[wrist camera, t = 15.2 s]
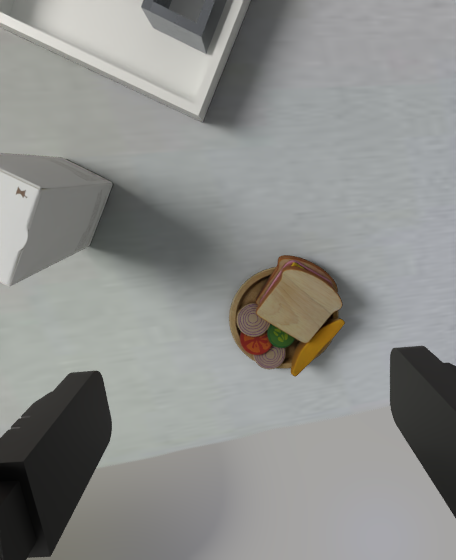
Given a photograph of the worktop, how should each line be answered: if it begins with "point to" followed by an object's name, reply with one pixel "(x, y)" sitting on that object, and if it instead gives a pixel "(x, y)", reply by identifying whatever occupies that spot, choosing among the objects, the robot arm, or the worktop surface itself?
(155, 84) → the bin
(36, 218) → the skincare box
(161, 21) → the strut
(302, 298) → the toy sandwich meal
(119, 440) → the worktop surface
